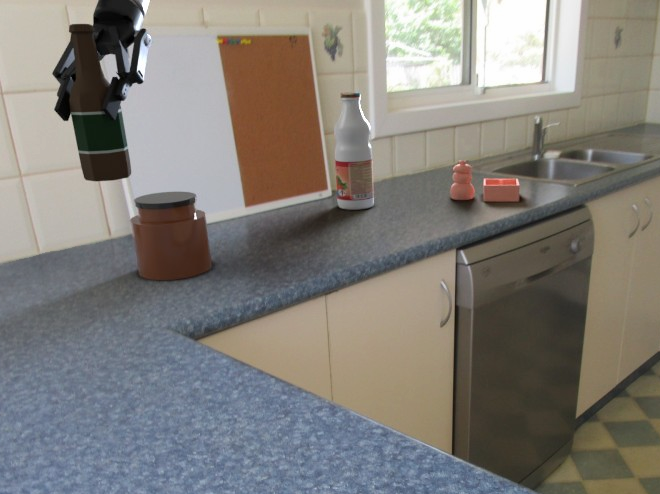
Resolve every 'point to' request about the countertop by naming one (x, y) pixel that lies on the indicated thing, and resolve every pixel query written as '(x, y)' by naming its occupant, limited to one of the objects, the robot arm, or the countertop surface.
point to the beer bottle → (95, 114)
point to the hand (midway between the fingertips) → (84, 114)
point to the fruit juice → (353, 156)
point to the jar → (170, 236)
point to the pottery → (492, 187)
